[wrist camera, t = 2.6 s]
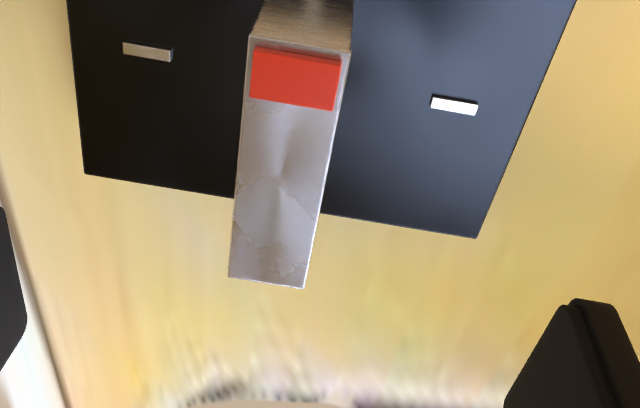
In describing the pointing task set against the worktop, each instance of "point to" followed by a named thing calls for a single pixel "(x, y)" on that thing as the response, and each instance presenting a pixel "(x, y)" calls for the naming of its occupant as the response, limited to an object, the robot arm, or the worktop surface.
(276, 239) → the brushed steel box
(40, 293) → the worktop surface
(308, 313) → the worktop surface
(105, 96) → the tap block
